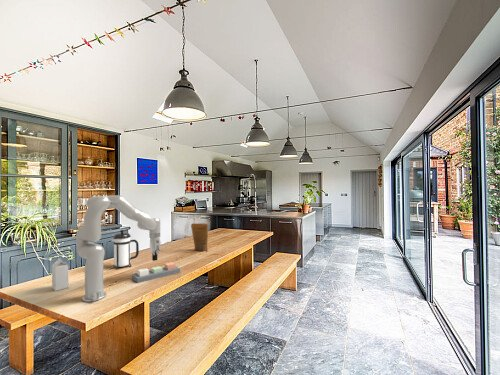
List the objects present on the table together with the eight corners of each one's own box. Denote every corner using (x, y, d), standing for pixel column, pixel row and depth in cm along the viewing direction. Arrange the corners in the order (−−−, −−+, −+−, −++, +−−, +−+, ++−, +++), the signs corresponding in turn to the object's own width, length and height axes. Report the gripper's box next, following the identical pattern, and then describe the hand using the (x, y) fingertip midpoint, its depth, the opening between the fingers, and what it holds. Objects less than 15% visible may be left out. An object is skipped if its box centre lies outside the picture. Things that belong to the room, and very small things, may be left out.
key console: (180, 272, 195) (180, 268, 195) (137, 283, 174) (137, 278, 174) (173, 268, 204) (173, 265, 204) (132, 278, 183) (132, 274, 183)
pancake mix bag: (206, 252, 252) (206, 224, 252) (190, 250, 260) (190, 223, 260) (210, 250, 258) (209, 223, 258) (194, 249, 266) (194, 222, 266)
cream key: (148, 276, 182) (148, 269, 182) (140, 278, 178) (139, 271, 178) (145, 274, 187) (145, 267, 187) (137, 276, 183) (137, 269, 183)
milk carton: (65, 285, 172) (64, 256, 172) (68, 287, 167) (68, 258, 167) (52, 288, 166) (51, 259, 166) (55, 291, 162) (54, 261, 162)
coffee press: (125, 270, 201) (125, 232, 201) (107, 268, 205) (107, 231, 204) (139, 263, 218) (138, 228, 218) (122, 262, 221) (122, 227, 221)
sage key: (162, 274, 189) (162, 268, 189) (154, 276, 185) (154, 269, 185) (159, 272, 193) (159, 266, 193) (151, 274, 189) (151, 267, 189)
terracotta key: (175, 270, 195) (175, 263, 195) (167, 272, 191) (167, 265, 191) (172, 268, 200) (171, 262, 200) (164, 270, 196) (164, 263, 196)
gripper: (163, 236, 185) (163, 261, 185) (156, 233, 196) (156, 257, 196) (153, 237, 180) (153, 263, 180) (146, 234, 191) (146, 259, 191)
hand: (154, 260), depth 188 cm, fingers closed
